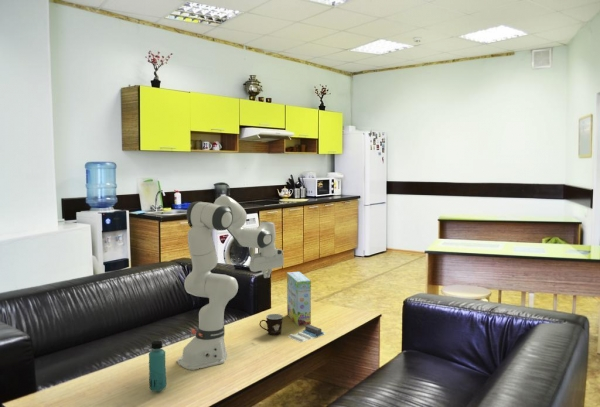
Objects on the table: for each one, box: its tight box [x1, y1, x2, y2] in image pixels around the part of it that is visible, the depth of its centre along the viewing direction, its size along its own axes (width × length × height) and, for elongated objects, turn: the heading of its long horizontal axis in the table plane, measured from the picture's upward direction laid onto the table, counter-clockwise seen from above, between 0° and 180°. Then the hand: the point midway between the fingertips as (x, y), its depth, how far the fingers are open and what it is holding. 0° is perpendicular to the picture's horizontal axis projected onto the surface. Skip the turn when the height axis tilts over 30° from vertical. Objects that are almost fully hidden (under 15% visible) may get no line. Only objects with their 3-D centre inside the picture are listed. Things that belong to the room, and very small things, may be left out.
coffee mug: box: [259, 313, 284, 337], centre depth 244 cm, size 12×9×10 cm
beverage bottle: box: [148, 340, 167, 392], centre depth 183 cm, size 6×7×20 cm
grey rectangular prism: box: [304, 324, 322, 337], centre depth 245 cm, size 3×9×3 cm, turn 42°
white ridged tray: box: [287, 329, 327, 343], centre depth 242 cm, size 18×10×2 cm, turn 132°
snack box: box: [286, 271, 312, 326], centre depth 266 cm, size 22×9×26 cm, turn 17°
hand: (266, 277), depth 248 cm, fingers closed
